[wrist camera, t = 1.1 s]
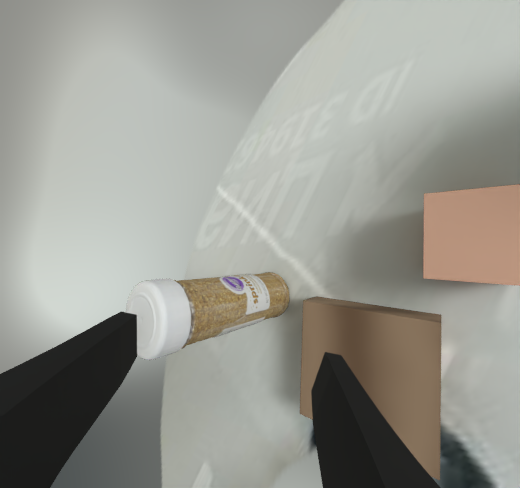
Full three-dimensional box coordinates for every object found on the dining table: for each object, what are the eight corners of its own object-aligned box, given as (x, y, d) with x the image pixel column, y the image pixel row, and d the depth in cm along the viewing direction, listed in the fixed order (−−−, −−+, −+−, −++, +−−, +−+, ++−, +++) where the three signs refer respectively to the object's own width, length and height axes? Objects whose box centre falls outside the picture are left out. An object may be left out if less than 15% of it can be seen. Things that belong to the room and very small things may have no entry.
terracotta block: (521, 202, 14) (552, 180, 10) (521, 280, 14) (554, 288, 10) (427, 209, 17) (424, 193, 13) (427, 273, 17) (423, 278, 13)
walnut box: (441, 313, 17) (441, 322, 14) (440, 447, 16) (439, 480, 14) (318, 296, 22) (303, 300, 20) (315, 396, 22) (299, 413, 19)
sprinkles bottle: (296, 281, 23) (169, 299, 12) (284, 325, 24) (152, 379, 13) (259, 265, 26) (129, 270, 15) (249, 305, 26) (116, 337, 16)
